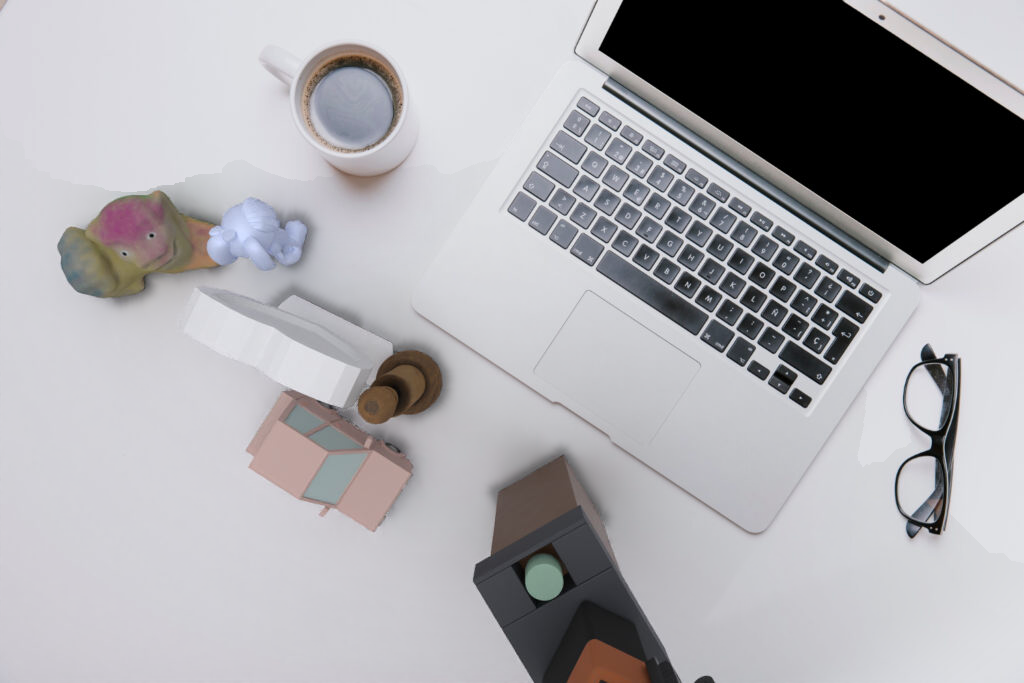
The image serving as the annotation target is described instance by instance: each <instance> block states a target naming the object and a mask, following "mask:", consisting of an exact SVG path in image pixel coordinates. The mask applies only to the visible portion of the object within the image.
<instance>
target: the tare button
mask: <svg viewBox="0 0 1024 683" xmlns="http://www.w3.org/2000/svg"><path fill="white" fill-rule="evenodd" d="M525 584H526V588H527V590H528V592H529V594H530V595H531V596H533V597H534V598H536V599H538V600H543V601H546V600H551V599H553V598H555V597H556V596H557V595H558V594H559V593H560V592H561V590H562V588H563V574H562V568H561V565H560V563H559V561H558V560H557V559H556V558H555V557H554V556H552V555H550V554H546V553H541V554H537V555H535V556H533V557H532V558H531V559H530V560H529V561H528V563H527V565H526V568H525Z"/></svg>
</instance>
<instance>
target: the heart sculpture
mask: <svg viewBox="0 0 1024 683" xmlns="http://www.w3.org/2000/svg"><path fill="white" fill-rule="evenodd" d="M177 327H178V328H179V329H180V330H181V332H183V333H184V334H185V335H188V336H189V337H190V338H192V339H193V340H195V341H196V342H198V343H200V344H202V345H203V346H205V347H207V348H209V349H211V350H212V351H214V352H216V353H218V354H220V355H222V356H224V357H226V358H228V359H231V360H234V361H236V362H239V363H241V364H245V365H247V366H250V367H254V368H256V369H257V370H258V371H260V372H261V373H262V374H263V375H265V377H268V378H270V379H271V380H272V381H274V382H276V383H278V384H281V385H283V386H285V387H286V388H288V389H290V390H295V391H298V392H300V393H302V394H305V395H307V396H309V397H310V398H314V399H317V400H320V401H322V402H325V403H327V404H330V405H331V406H335V407H338V408H342V409H345V408H353V407H354V406H355V405H356V404H357V403H358V399H359V397H360V395H361V394H362V393H363V390H364V388H365V385H368V386H369V387H370V386H371V384H372V383H373V382H374V381H375V380H376V375H377V372H378V369H379V367H380V366H381V364H382V363H383V362H384V361H385V360H386V359H387V358H388V357H390V356H392V355H393V354H394V346H393V342H391V341H389V340H387V339H385V338H383V337H380V336H378V335H377V334H374V333H372V332H370V331H369V330H366V329H364V328H363V327H360V326H358V325H356V324H354V323H352V322H350V321H349V320H346V319H344V318H342V317H341V316H339V315H336V314H334V313H332V312H330V311H328V310H326V309H324V308H323V307H320V306H317V305H316V304H314V303H311V302H309V301H308V300H306V299H304V298H302V297H299V296H298V295H296V294H291V295H290V296H289V297H287V298H286V299H285V300H284V301H282V302H281V303H280V304H279V305H278V306H274V305H271V304H268V303H266V302H262V301H261V300H257V299H254V298H252V297H249V296H245V295H243V294H239V293H236V292H233V291H229V290H226V289H222V288H215V287H211V286H205V285H204V286H195V287H194V290H193V292H192V294H191V296H190V298H189V300H188V303H187V304H186V307H185V309H184V311H183V313H182V315H181V318H180V320H179V322H178V324H177Z"/></svg>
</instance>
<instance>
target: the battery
mask: <svg viewBox="0 0 1024 683" xmlns="http://www.w3.org/2000/svg"><path fill="white" fill-rule="evenodd" d="M645 661H647V657H646V654H645V651H644V648H643V645H642V642H641V639H640V637H639V634H638V631H637V628H636V626H635V624H634V623H632V622H630V621H628V620H626V619H624V618H622V617H620V616H618V615H616V614H614V613H612V612H610V611H608V610H606V609H603V608H601V607H599V606H597V605H595V604H593V603H591V602H589V601H583V602H582V603H581V604H580V606H579V607H578V609H577V611H576V613H575V615H574V617H573V619H572V621H571V623H570V625H569V627H568V629H567V631H566V633H565V635H564V637H563V639H562V641H561V643H560V645H559V647H558V649H557V651H556V652H555V654H554V656H553V658H552V660H551V662H550V664H549V666H548V668H547V670H546V672H545V674H544V676H543V679H542V683H652V682H651V680H650V677H649V674H648V671H647V668H646V665H645Z"/></svg>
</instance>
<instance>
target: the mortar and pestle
mask: <svg viewBox="0 0 1024 683" xmlns="http://www.w3.org/2000/svg"><path fill="white" fill-rule="evenodd" d="M442 388H443V376H442V371H441V369H440V367H439V366H438V364H437V362H436V361H435V360H434V359H433V358H432V357H431V356H429V355H428V354H426V353H424V352H422V351H420V350H416V349H415V350H414V349H406V350H401V351H397V352H395V353H393V355H392V356H390V357H388V358H387V359H386V360H385V361H384V362H383V363H382V364H381V366H380V367H379V369H378V372H377V375H376V380H375V381H374V382H373V383H372V384H371V386H370V385H369V388H366V389H365V390H364V391H362V392H361V394H360V396H359V398H358V400H357V403H356V404H357V411H358V414H359V416H360V417H361V419H362V420H364V421H365V422H366V423H368V424H371V425H381V424H384V423H387V422H388V421H390V420H391V419H392V418H398V417H400V416H402V415H405V416H412V415H417V414H421V413H423V412H424V411H426V410H428V409H429V408H430V407H432V406H433V404H434V403H435V402H436V401H437V400H438V398H439V397H440V394H441V393H442V392H441V391H442Z"/></svg>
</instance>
